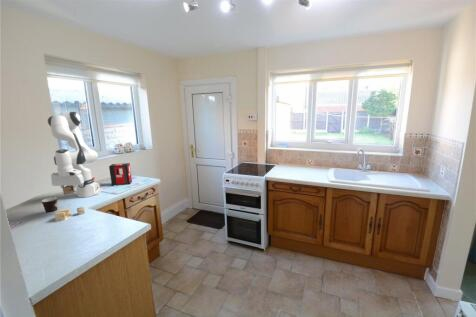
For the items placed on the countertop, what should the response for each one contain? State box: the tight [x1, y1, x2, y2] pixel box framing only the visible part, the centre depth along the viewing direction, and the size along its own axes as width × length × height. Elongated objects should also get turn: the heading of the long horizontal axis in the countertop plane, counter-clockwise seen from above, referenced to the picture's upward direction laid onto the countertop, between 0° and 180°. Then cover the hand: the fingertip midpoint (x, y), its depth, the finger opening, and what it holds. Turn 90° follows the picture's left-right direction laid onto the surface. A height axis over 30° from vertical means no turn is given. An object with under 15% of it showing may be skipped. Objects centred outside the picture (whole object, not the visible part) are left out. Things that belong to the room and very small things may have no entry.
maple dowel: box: [76, 206, 85, 216], centre depth 156 cm, size 4×4×4 cm
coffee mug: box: [41, 196, 58, 214], centre depth 163 cm, size 12×9×10 cm
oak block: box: [53, 208, 72, 221], centre depth 149 cm, size 6×6×5 cm
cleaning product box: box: [108, 162, 133, 187], centre depth 223 cm, size 16×9×20 cm, turn 102°
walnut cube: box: [62, 185, 77, 195], centre depth 159 cm, size 5×5×5 cm
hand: (69, 190), depth 159 cm, fingers closed on walnut cube, 5 cm apart
